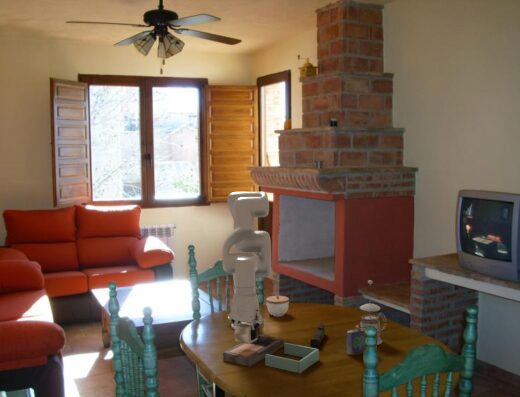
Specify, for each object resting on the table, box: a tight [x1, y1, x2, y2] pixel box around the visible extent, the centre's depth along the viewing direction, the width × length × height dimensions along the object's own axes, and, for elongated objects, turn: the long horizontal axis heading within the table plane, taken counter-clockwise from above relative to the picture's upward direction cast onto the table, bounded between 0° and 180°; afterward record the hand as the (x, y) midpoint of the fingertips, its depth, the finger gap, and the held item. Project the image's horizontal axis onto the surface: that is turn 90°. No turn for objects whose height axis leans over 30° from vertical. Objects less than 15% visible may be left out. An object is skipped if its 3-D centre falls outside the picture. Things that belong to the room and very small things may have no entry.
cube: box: [234, 322, 257, 344], centre depth 204 cm, size 6×6×6 cm
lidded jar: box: [265, 294, 290, 317], centre depth 260 cm, size 11×11×9 cm
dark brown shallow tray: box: [222, 333, 285, 367], centre depth 210 cm, size 12×24×3 cm, turn 148°
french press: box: [359, 279, 387, 346], centre depth 220 cm, size 10×12×25 cm
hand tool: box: [309, 324, 325, 349], centre depth 223 cm, size 19×4×5 cm, turn 161°
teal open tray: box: [264, 342, 320, 374], centre depth 200 cm, size 14×15×4 cm
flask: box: [346, 324, 366, 356], centre depth 208 cm, size 9×3×11 cm, turn 109°
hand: (246, 337), depth 205 cm, fingers closed on cube, 6 cm apart
